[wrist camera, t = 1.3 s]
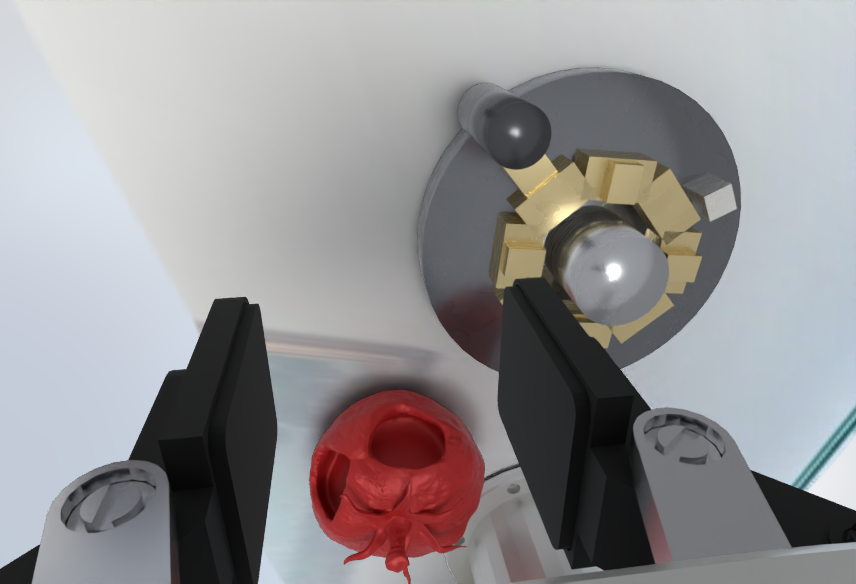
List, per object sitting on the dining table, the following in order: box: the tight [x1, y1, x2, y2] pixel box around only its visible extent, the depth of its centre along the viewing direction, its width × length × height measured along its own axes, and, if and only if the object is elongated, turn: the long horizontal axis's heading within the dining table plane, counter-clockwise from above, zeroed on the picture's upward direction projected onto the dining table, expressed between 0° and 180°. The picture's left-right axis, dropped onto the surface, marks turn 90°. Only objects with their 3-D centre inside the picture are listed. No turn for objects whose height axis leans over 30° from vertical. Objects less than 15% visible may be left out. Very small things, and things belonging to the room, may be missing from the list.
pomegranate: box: [309, 390, 485, 584], centre depth 33 cm, size 10×10×9 cm
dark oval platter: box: [417, 68, 741, 372], centre depth 29 cm, size 17×17×6 cm
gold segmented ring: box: [458, 83, 702, 348], centre depth 27 cm, size 15×10×6 cm, turn 39°
